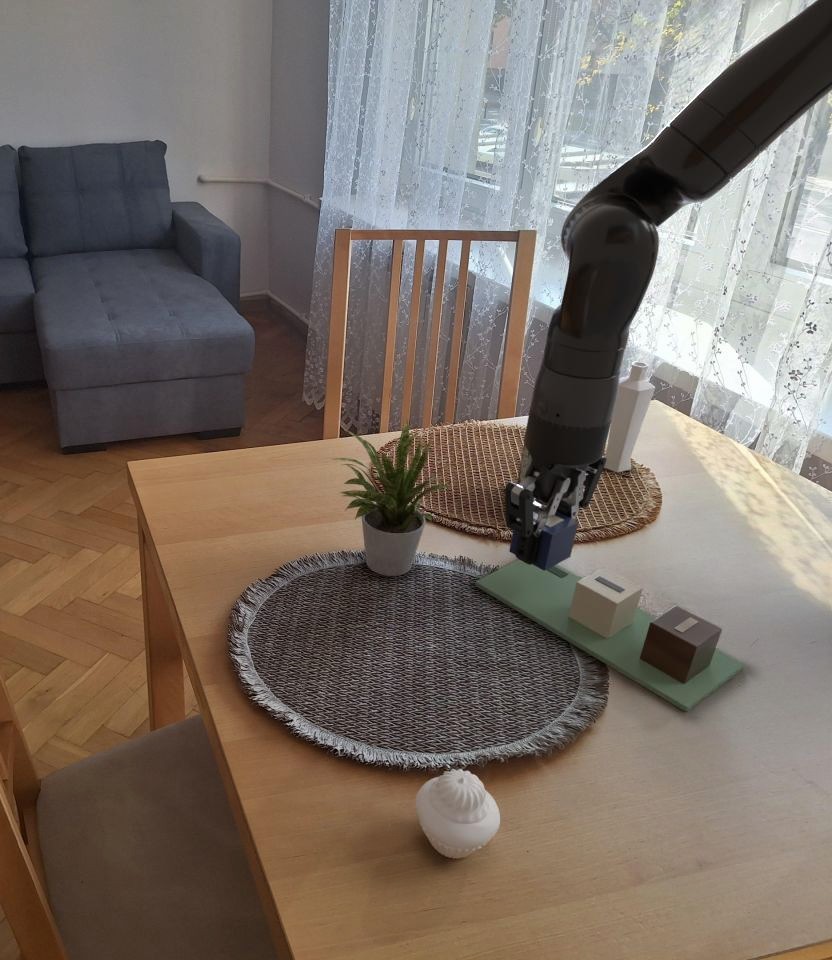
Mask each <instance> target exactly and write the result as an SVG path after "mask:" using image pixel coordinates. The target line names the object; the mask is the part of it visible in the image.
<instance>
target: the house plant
mask: <svg viewBox="0 0 832 960" xmlns="http://www.w3.org/2000/svg"><path fill="white" fill-rule="evenodd" d="M342 429H343V428H342ZM343 431H345V432H346V433H349V434H350V435H352V436H353V437H354V438H355V439H357V440H358V441H359V442H360V443H361V444H362V446H363V447H364V449H365V450H366V453H367V454H368V457H369V458H370V460H371V463H372V464H373V466H374V468H375V470H376V472H377V474H378V476H377V475H375V474H374V472H373V471H372V470H370V468H369V467H368V466H366V465H365V464H364V463H362V462H360V461H358V460H356V459H353V458H347V457H345V458H344V457H336V458H332V461H333V460H334V461H344V462H351V463H354V464H351V463H343V464H341V466H346V467H348V468H349V469H350V470H352V471H353V472H354V473H355V475H356V476H357V477H354V478H350V479H348V480H346V481H345V482H344V483H343V485H342V486H344V485H357V486H362V487H363V488H364V489H365V490H360V489H359V490H358V489H351V490H347V491H341V492H340V494H344V495H342V497H346V498H347V497H349V498H354V499H353V500H352V501H350V503H349V504H348V506H347V507H346V508H345V510H344V512H346V511H347V510H348V509H354V508H358V510H357V511H356V515H355V517H354V520H356V519H357V518H360V517H361V524H362V525H361V526H362V534H363V545H364V554H365V564H366V566H367V568H369V569H370V570H371V571H372V572H374V573H376V574H378V575H382V576H387V577H398V576H402V575H405V574H407V573H408V572H409V571H410V570H411V569H412V566H413V563H414V560H415V557H416V553H417V551H418V548H419V544H420V541H421V538H422V535H423V532H424V529H425V526H426V522H427V521H426V519H428V520H429V522H430V523H431V524H433V521H432V520H433V517H434V516H433V515H432V514H431V513H422V511H420V510H419V509H421V503H420V502H419V500H420V499H422V498H423V497H424V496H425V495H427V494H430V493H431V492H434V491H438V490H440V489H447V488H448V489H450V490H451V489H452V490H453V488H452V487H451V486H450V485H447V484H436V485H432V486H430V487H428V488H427V489H424V488H425V486H426V485H428V484H429V483H430V482H432V481H434V482H435V481H437V482H438V481H440V482H444V481H443V479H442V478H439V477H437V478H433V477H434V476H436V475H437V474H438V473H439V472H441V471H442V470H443V469H445V468H447V467H448V466H449V465H450V464H452V462H451V463H449V464H446V465H445V466H443V467H441V468H439V469H438V470H437V471H436V472H434V473H433V475H430V477H428V478H427V479H426V480H425V481H423V482H422V483H420V484H418V485H416V483H417V481H418V478H419V476H420V473H421V472H422V470H423V468H424V466H425V464H426V462H427V459H428V455H429V450H430V444H431V443H430V440H429V441H428V443H427V444H426V446H425V448H424V450H423V446H424V445H423V443H424V439H423V438H424V437H423V436H421V437H420V439H419V442H418V445H417V446H416V448H415V452H414V456H413V459H412V461H411V463H410V466H409V468H408V469H407V468H405V467H406V462H407V458H408V455H409V453H410V450H411V447H412V445H413V443H414V439H415V438H416V437H417V435H418V432H416V433H414V434H412V435H411V436H410V422H409V419H407V420H406V421H405V423H404V425H403V427H402V429H401V434H400V437H399V440H398V445H397V449H396V453H395V454H396V463H395V464H396V465H395V466H396V467H394V464H393V462H392V461H391V460H390V458H389V457H388V455H386V454H385V453H384V452H382V453H381V454H380V456H381V459H380V456H379V454H378V452H377V450H376V448H375V447H374V446H373V445H372V443H370V442H369V441H367V440H366V439H363V438H362V437H361V436H359V435H358V434H356V433H354V432H352V431H349V430H346V429H343ZM422 450H423V452H422ZM355 464H358V465H360V466H361V467H364V468H366V469H367V470H368V471H369V472H370V473H371V474H372V475H373V477H372V478H371V477H370V476H369V474H368V473H367V472H366V471H365V470H364V469H362V468H361V467H359V466H357V465H355ZM355 467H356V468H355ZM357 468H358V469H360V470H361V471H362V472H363V473H364V474H365V476H366V477H367V479H368V480H369V481H367V480H366V478H365V477H364V475H363V473H361V472H360V470H358V469H357ZM373 478H375V479H376V480H377V481H378V482H379V484H380V485H381V487H382V488H383V491H384V493H383V492H380V491H379V489H378V488H377V486H376V484H375V483H374V482H373V481H372V479H373ZM432 478H433V479H432ZM430 479H431V480H430ZM415 485H416V486H415ZM423 489H424V490H423ZM422 490H423V491H422ZM421 491H422V492H421ZM419 493H420V494H419Z"/></svg>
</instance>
